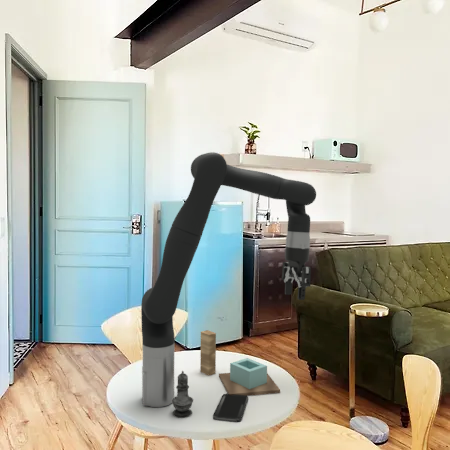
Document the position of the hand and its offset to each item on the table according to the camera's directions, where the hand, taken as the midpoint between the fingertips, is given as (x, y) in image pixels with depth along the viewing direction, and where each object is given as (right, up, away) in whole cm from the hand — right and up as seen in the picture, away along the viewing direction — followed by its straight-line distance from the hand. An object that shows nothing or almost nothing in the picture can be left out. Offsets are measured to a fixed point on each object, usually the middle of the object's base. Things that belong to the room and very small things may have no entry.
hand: (294, 296), depth 144 cm
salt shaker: (-34, -30, -18) cm, 49 cm away
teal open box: (-15, -28, +1) cm, 32 cm away
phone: (-20, -30, -15) cm, 39 cm away
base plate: (-15, -28, +1) cm, 32 cm away
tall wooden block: (-28, -28, +10) cm, 41 cm away
